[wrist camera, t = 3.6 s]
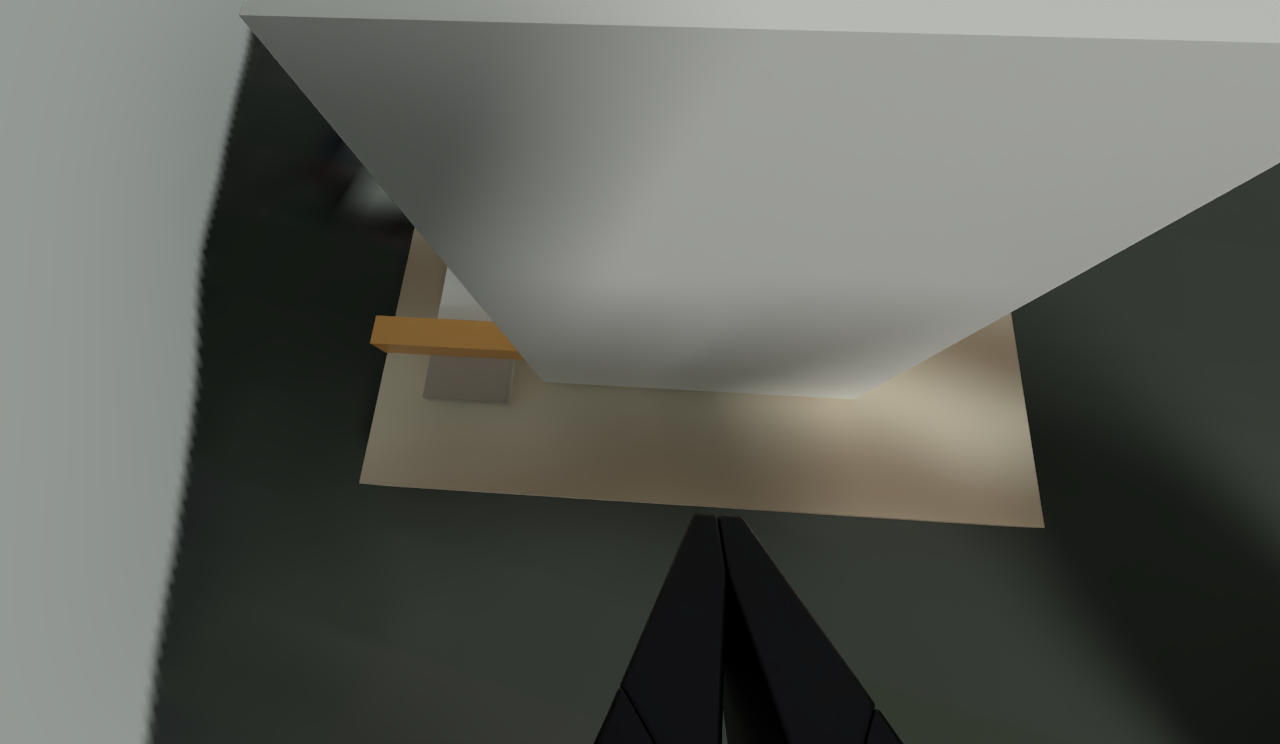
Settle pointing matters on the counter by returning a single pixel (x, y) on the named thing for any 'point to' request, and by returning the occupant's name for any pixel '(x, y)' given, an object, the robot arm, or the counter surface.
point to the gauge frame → (707, 432)
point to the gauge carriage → (775, 166)
